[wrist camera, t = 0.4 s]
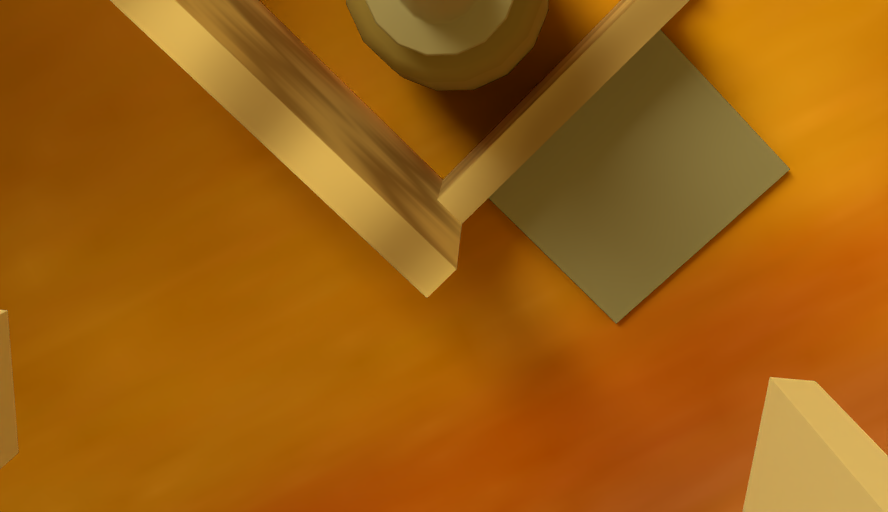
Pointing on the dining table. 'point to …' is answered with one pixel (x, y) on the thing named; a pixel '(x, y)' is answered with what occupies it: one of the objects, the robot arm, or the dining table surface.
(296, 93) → the rack
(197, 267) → the dining table surface
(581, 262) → the mat
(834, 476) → the robot arm
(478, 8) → the squeeze bottle
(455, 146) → the dining table surface
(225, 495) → the dining table surface
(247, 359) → the dining table surface
